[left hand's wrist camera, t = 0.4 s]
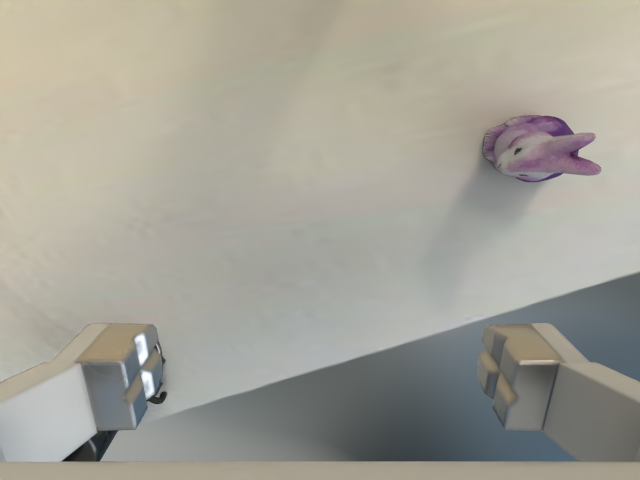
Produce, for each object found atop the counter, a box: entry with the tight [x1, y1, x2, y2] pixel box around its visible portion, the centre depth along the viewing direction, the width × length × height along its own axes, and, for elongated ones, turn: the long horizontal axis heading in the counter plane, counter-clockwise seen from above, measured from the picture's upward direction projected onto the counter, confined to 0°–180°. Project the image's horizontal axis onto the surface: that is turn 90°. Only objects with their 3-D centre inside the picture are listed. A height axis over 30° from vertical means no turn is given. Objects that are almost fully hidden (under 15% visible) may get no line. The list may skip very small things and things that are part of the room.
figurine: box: [483, 115, 601, 182], centre depth 47 cm, size 9×10×15 cm
